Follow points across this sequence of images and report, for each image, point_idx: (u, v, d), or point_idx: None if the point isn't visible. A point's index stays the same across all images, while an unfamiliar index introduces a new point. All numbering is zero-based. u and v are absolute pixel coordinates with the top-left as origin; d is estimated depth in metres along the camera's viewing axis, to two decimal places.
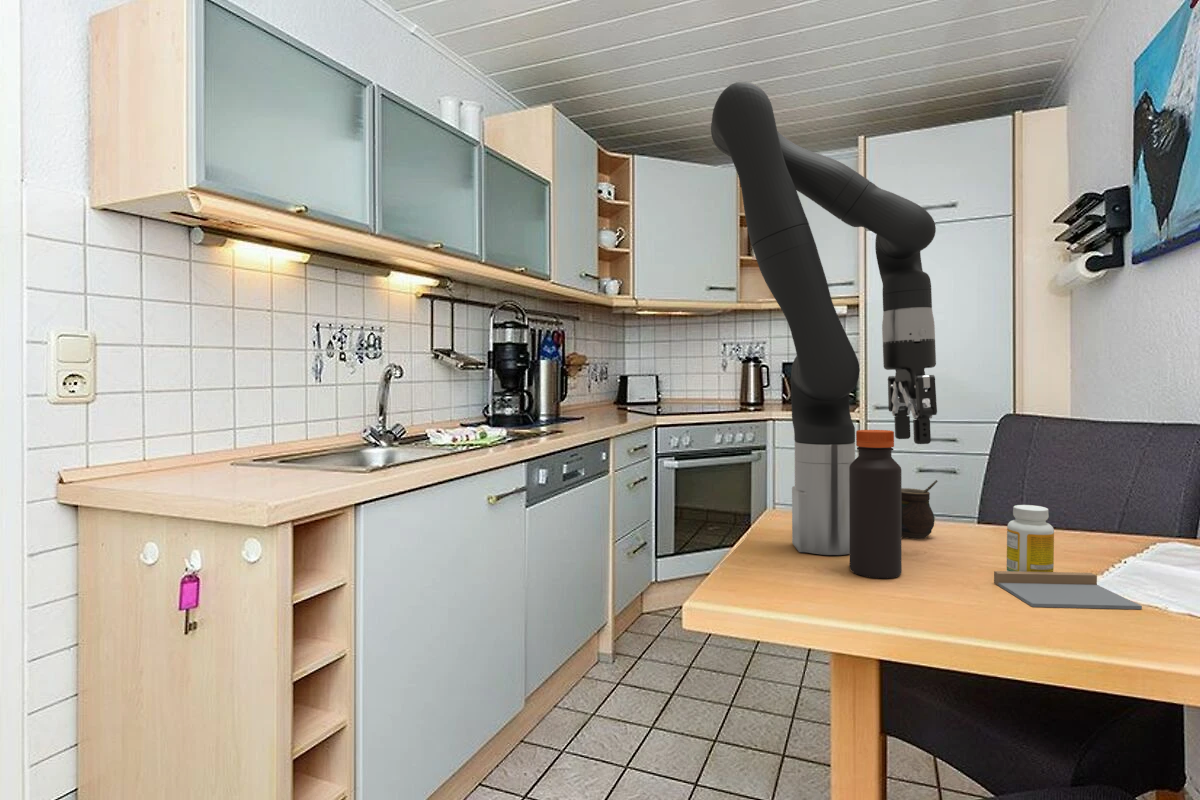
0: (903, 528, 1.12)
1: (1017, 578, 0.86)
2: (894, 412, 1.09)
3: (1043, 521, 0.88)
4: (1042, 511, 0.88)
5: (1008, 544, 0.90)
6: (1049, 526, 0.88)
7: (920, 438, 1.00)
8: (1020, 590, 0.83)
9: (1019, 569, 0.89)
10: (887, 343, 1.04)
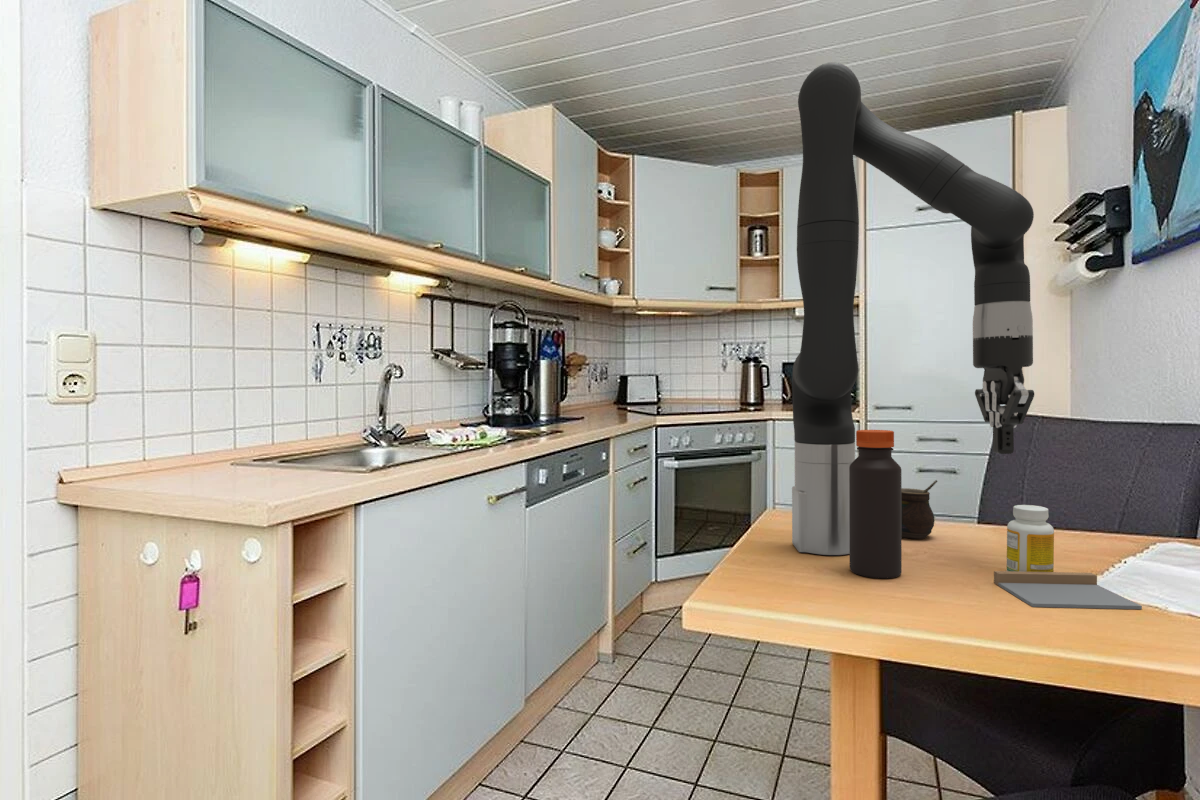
0: (903, 528, 1.12)
1: (1017, 578, 0.86)
2: (993, 423, 0.98)
3: (1043, 521, 0.88)
4: (1042, 511, 0.88)
5: (1008, 544, 0.90)
6: (1049, 526, 0.88)
7: (1003, 447, 0.96)
8: (1020, 590, 0.83)
9: (1019, 569, 0.89)
10: (980, 339, 0.96)
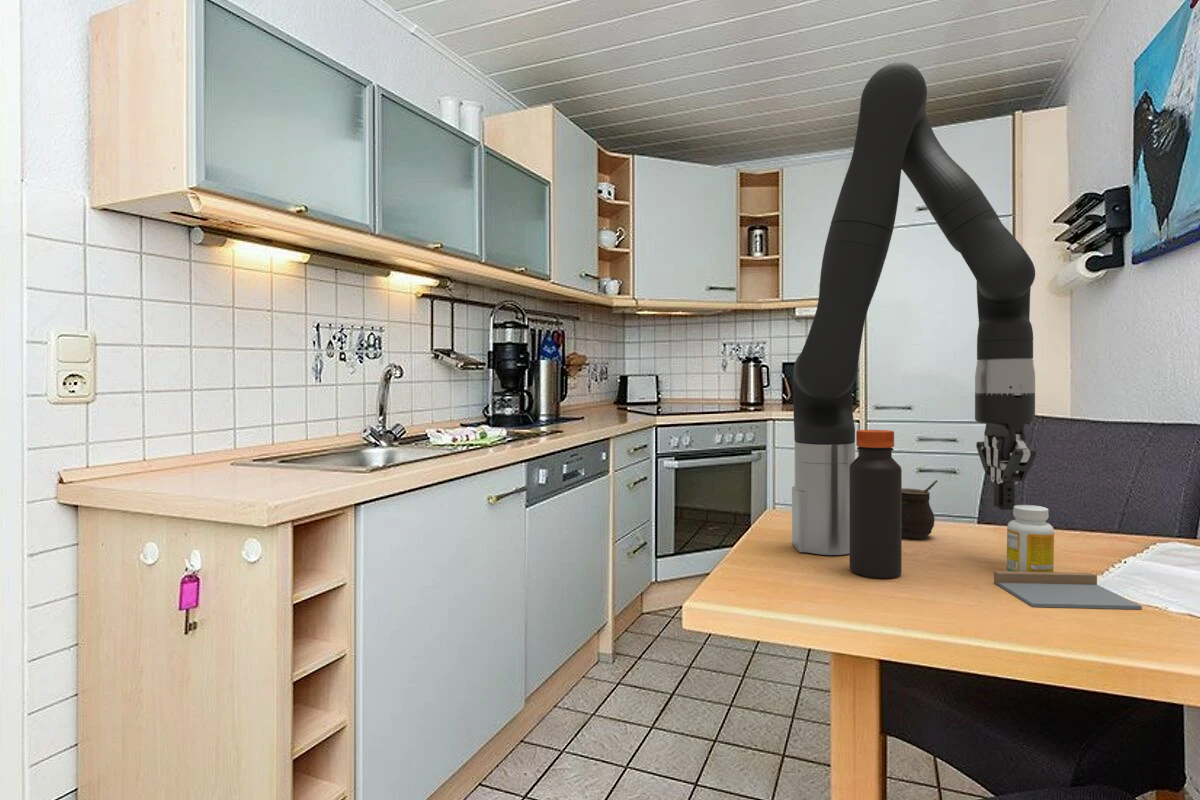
0: (903, 528, 1.12)
1: (1017, 578, 0.86)
2: (994, 478, 0.97)
3: (1043, 521, 0.88)
4: (1042, 511, 0.88)
5: (1008, 544, 0.90)
6: (1049, 526, 0.88)
7: (1004, 504, 0.96)
8: (1020, 590, 0.83)
9: (1019, 569, 0.89)
10: (982, 395, 0.96)
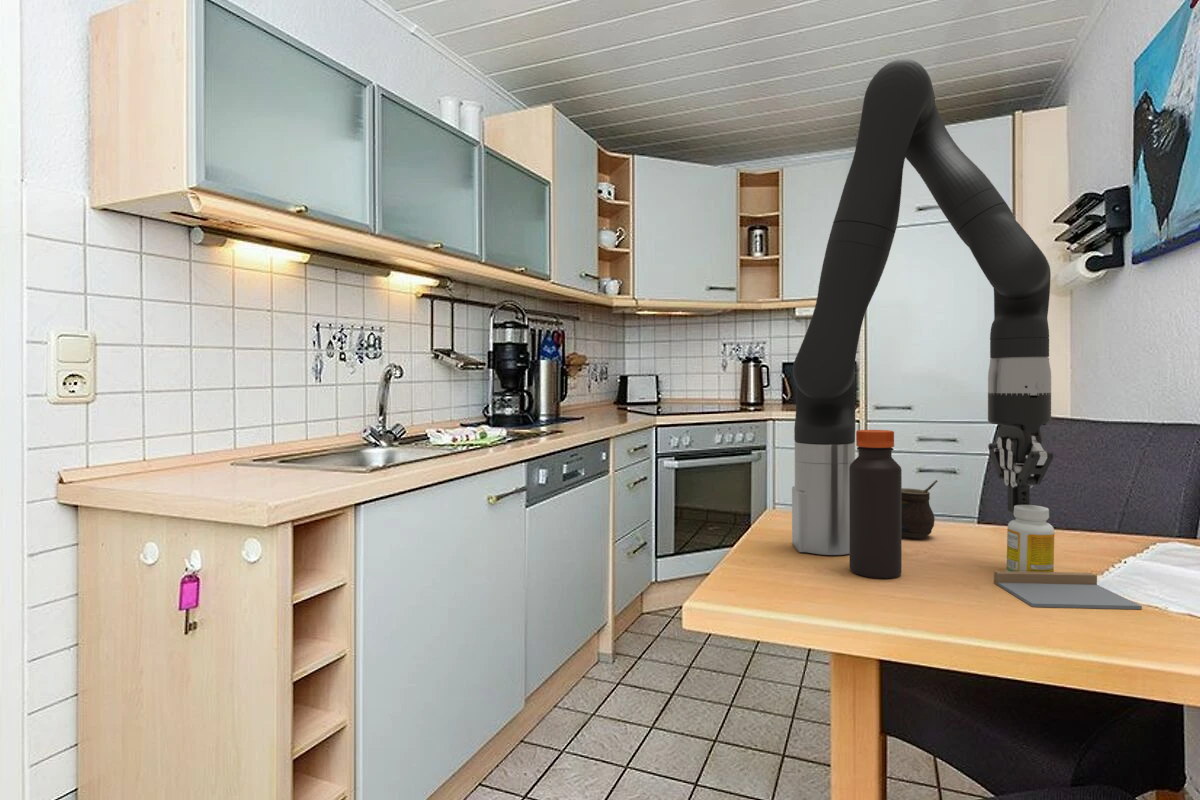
0: (903, 528, 1.12)
1: (1017, 578, 0.86)
2: (1008, 481, 0.94)
3: (1044, 521, 0.88)
4: (1042, 511, 0.88)
5: (1009, 544, 0.90)
6: (1049, 526, 0.88)
7: None
8: (1020, 590, 0.83)
9: (1019, 569, 0.89)
10: (996, 395, 0.92)
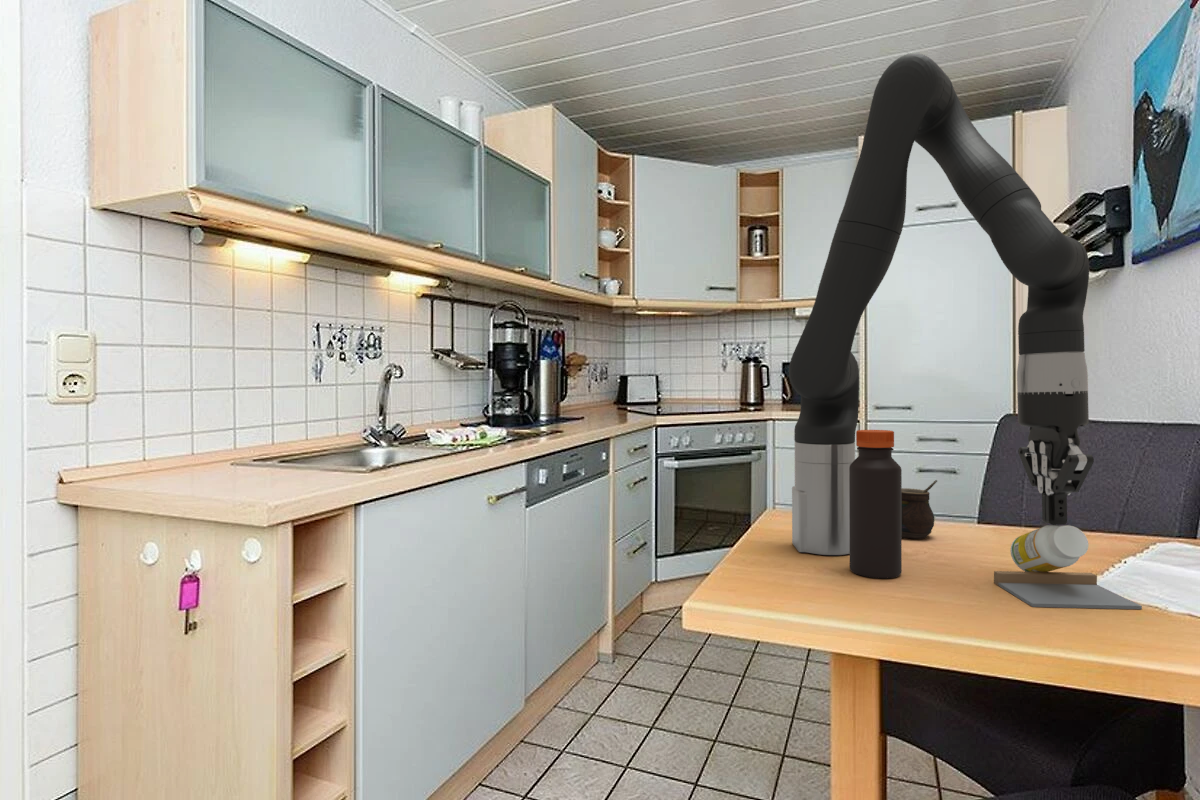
0: (903, 528, 1.12)
1: (1017, 578, 0.86)
2: (1042, 489, 0.86)
3: None
4: (1077, 557, 0.81)
5: (1026, 546, 0.86)
6: (1076, 558, 0.83)
7: (1055, 518, 0.84)
8: (1020, 590, 0.83)
9: (1021, 563, 0.88)
10: (1027, 394, 0.84)
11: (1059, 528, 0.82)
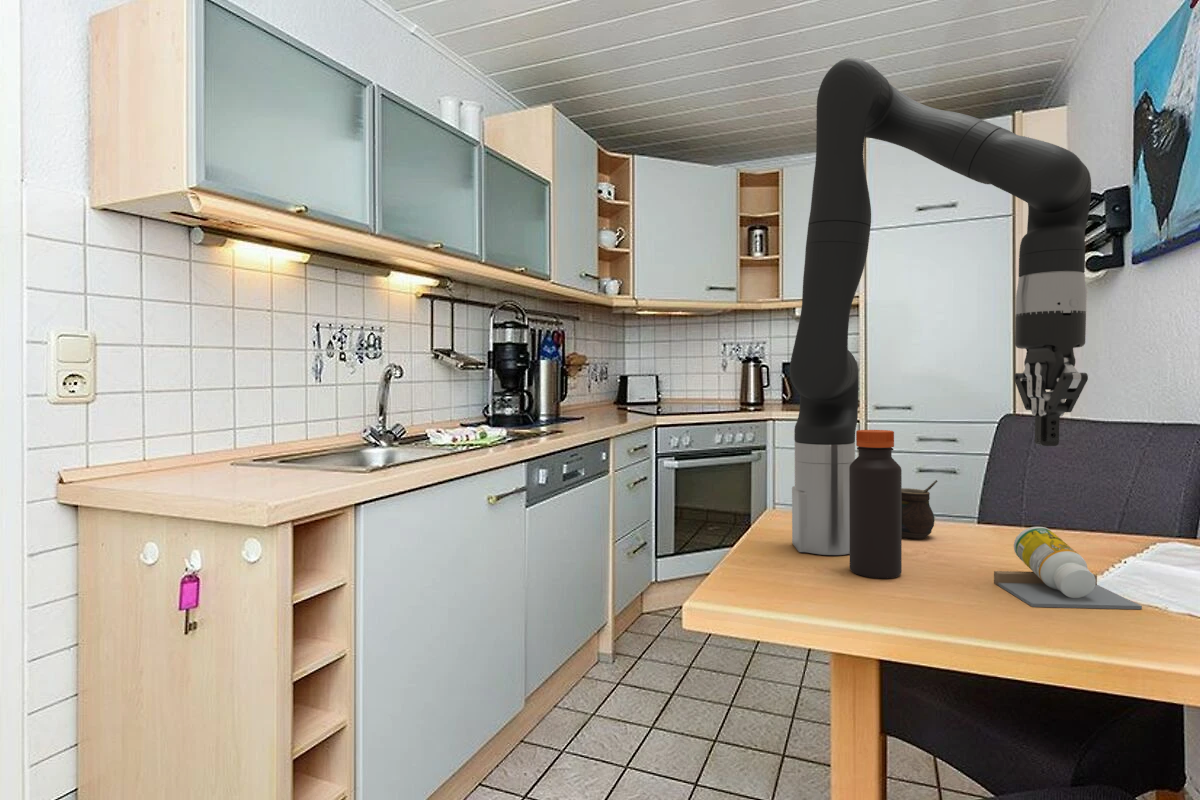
0: (903, 528, 1.12)
1: (1017, 578, 0.86)
2: (1036, 411, 0.86)
3: None
4: (1080, 596, 0.80)
5: (1030, 562, 0.84)
6: None
7: (1047, 439, 0.84)
8: (1020, 590, 0.83)
9: (1022, 560, 0.88)
10: (1025, 315, 0.84)
11: (1069, 574, 0.79)
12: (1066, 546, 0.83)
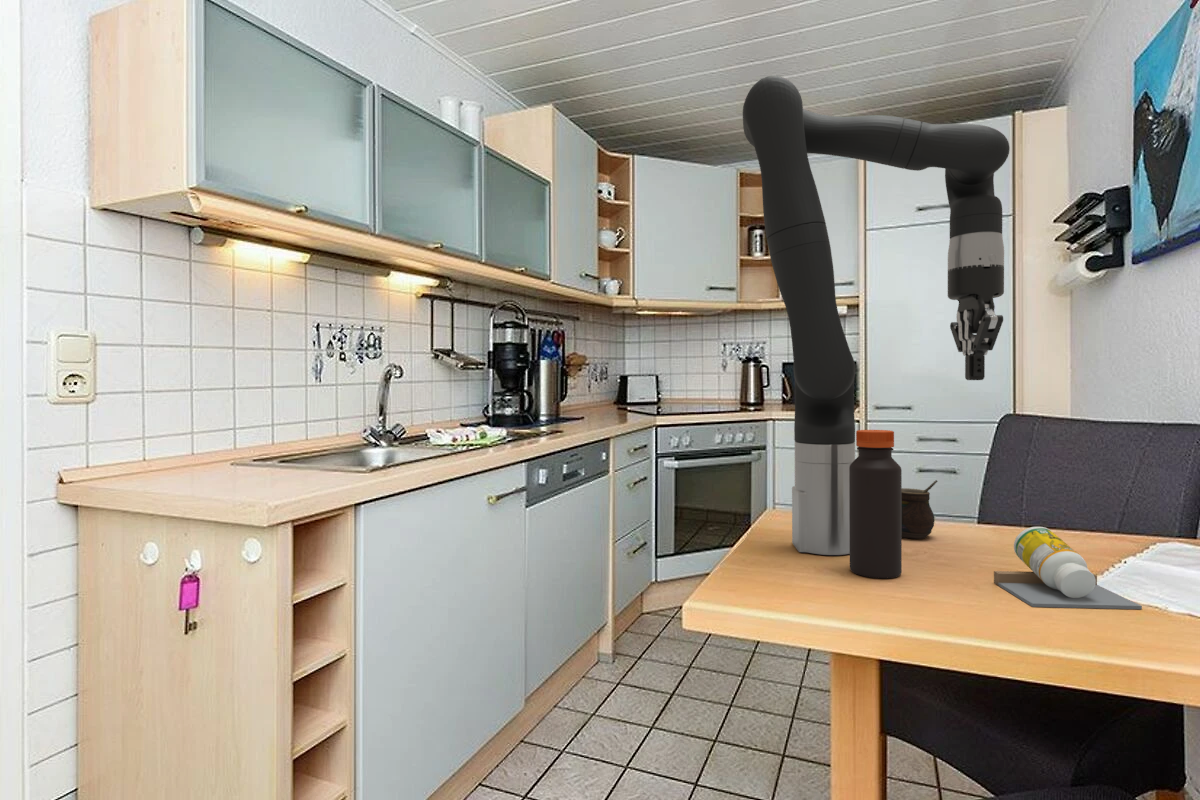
0: (903, 528, 1.12)
1: (1017, 578, 0.86)
2: (965, 351, 1.02)
3: None
4: (1080, 596, 0.80)
5: (1030, 562, 0.84)
6: None
7: (974, 374, 1.00)
8: (1020, 590, 0.83)
9: (1022, 560, 0.88)
10: (954, 270, 1.00)
11: (1069, 574, 0.79)
12: (1066, 546, 0.83)
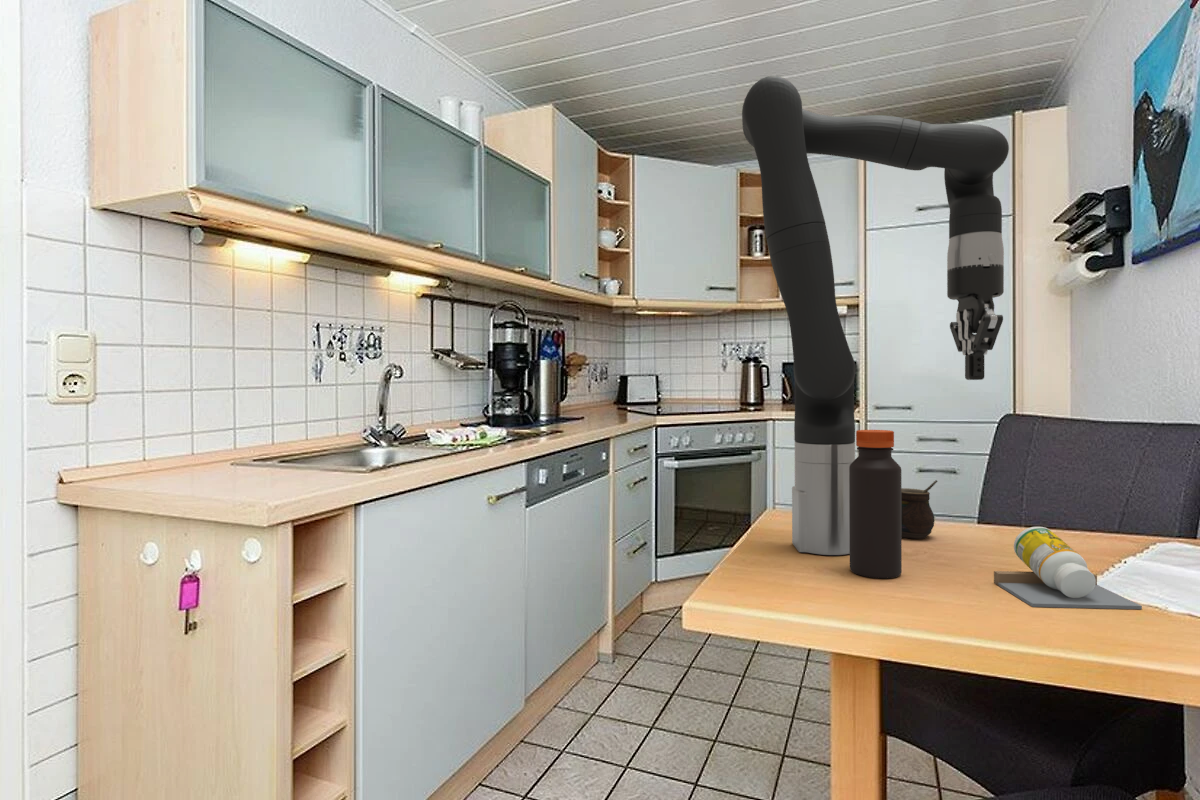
0: (903, 528, 1.12)
1: (1017, 578, 0.86)
2: (965, 351, 1.02)
3: None
4: (1080, 596, 0.80)
5: (1030, 562, 0.84)
6: None
7: (974, 373, 1.00)
8: (1020, 590, 0.83)
9: (1022, 560, 0.88)
10: (953, 269, 1.00)
11: (1069, 574, 0.79)
12: (1066, 546, 0.83)
